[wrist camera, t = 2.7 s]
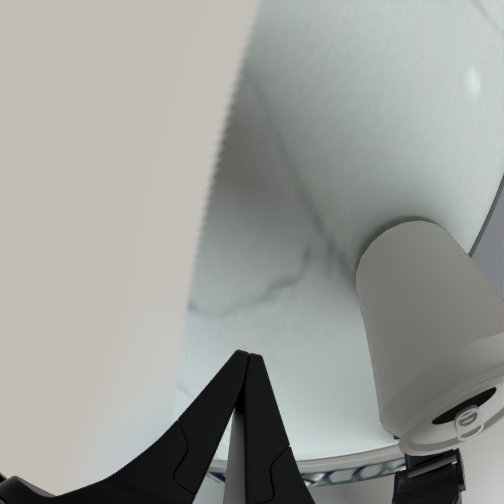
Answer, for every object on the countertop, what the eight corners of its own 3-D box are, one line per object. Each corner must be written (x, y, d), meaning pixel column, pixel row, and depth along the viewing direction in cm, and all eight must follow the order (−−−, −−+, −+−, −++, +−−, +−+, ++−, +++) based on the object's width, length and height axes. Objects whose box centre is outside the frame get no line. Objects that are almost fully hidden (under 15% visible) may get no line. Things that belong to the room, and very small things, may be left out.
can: (430, 192, 15) (556, 330, 4) (462, 276, 17) (534, 409, 7) (332, 254, 18) (354, 439, 7) (379, 324, 20) (407, 473, 10)
